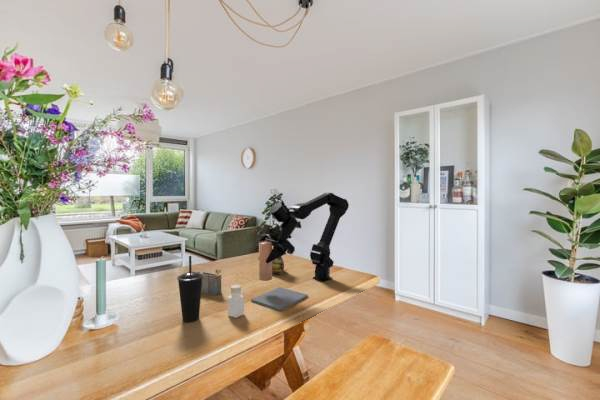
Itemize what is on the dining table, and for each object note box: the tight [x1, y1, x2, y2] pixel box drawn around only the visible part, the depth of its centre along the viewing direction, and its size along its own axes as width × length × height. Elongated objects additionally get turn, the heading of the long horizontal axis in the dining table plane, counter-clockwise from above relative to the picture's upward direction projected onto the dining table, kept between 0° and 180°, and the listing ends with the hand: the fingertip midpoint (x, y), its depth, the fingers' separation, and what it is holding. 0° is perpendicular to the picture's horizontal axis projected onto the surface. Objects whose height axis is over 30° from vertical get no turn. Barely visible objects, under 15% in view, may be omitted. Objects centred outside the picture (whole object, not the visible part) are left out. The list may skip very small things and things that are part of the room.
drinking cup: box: [176, 255, 203, 323], centre depth 89 cm, size 8×8×20 cm
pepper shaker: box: [227, 284, 245, 319], centre depth 92 cm, size 4×4×10 cm
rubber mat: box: [251, 286, 309, 312], centre depth 106 cm, size 16×14×1 cm
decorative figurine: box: [272, 246, 285, 275], centre depth 139 cm, size 10×8×15 cm
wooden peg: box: [258, 241, 273, 282], centre depth 109 cm, size 5×5×14 cm
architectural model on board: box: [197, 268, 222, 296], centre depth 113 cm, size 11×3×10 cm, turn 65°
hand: (262, 261), depth 109 cm, fingers closed on wooden peg, 5 cm apart
